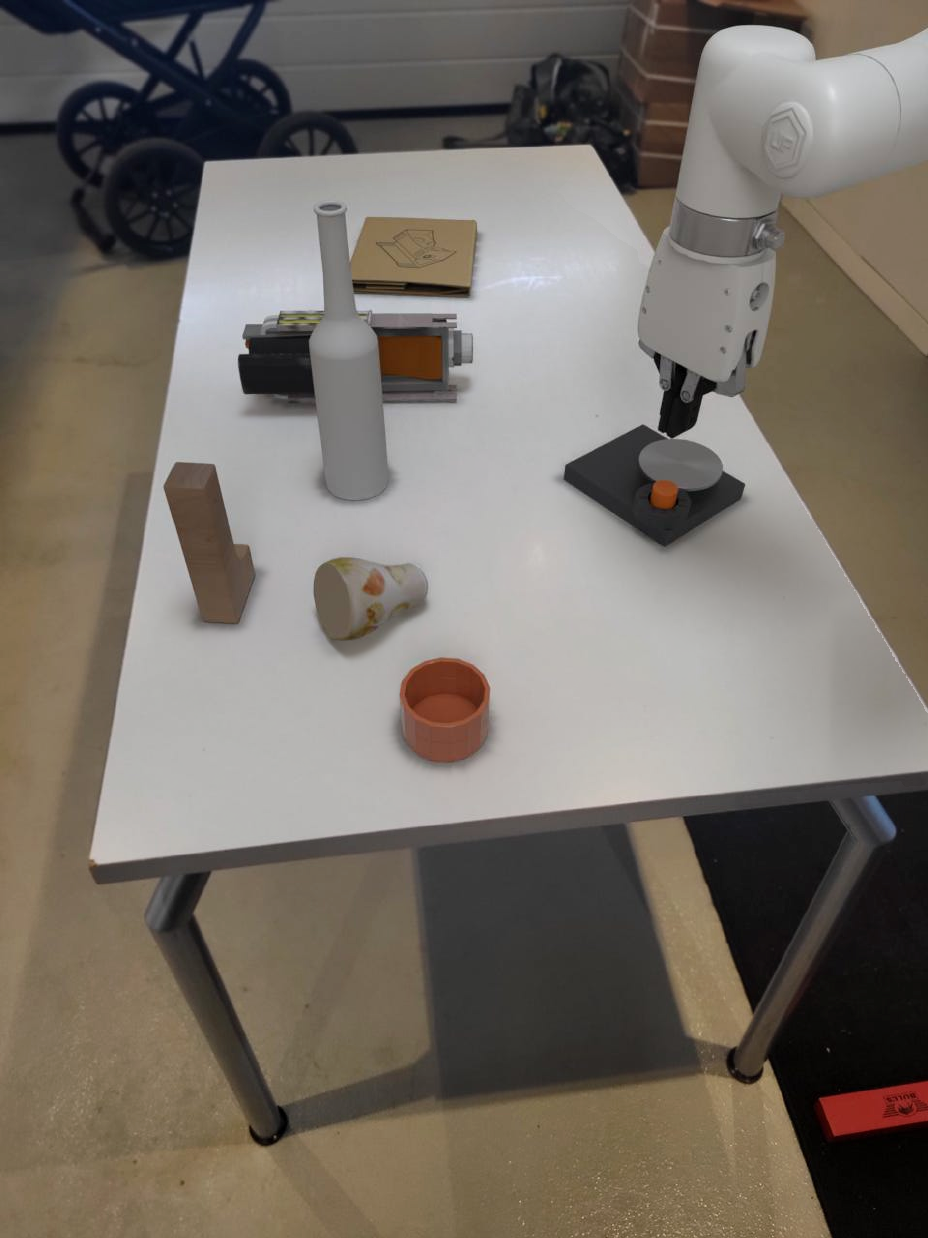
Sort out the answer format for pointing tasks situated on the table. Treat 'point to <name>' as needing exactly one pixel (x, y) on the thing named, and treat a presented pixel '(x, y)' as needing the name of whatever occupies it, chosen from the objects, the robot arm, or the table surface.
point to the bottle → (346, 373)
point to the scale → (645, 488)
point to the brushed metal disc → (681, 464)
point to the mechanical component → (406, 353)
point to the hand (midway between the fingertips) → (675, 429)
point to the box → (414, 257)
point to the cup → (445, 709)
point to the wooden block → (209, 542)
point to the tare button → (664, 494)
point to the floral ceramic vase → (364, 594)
